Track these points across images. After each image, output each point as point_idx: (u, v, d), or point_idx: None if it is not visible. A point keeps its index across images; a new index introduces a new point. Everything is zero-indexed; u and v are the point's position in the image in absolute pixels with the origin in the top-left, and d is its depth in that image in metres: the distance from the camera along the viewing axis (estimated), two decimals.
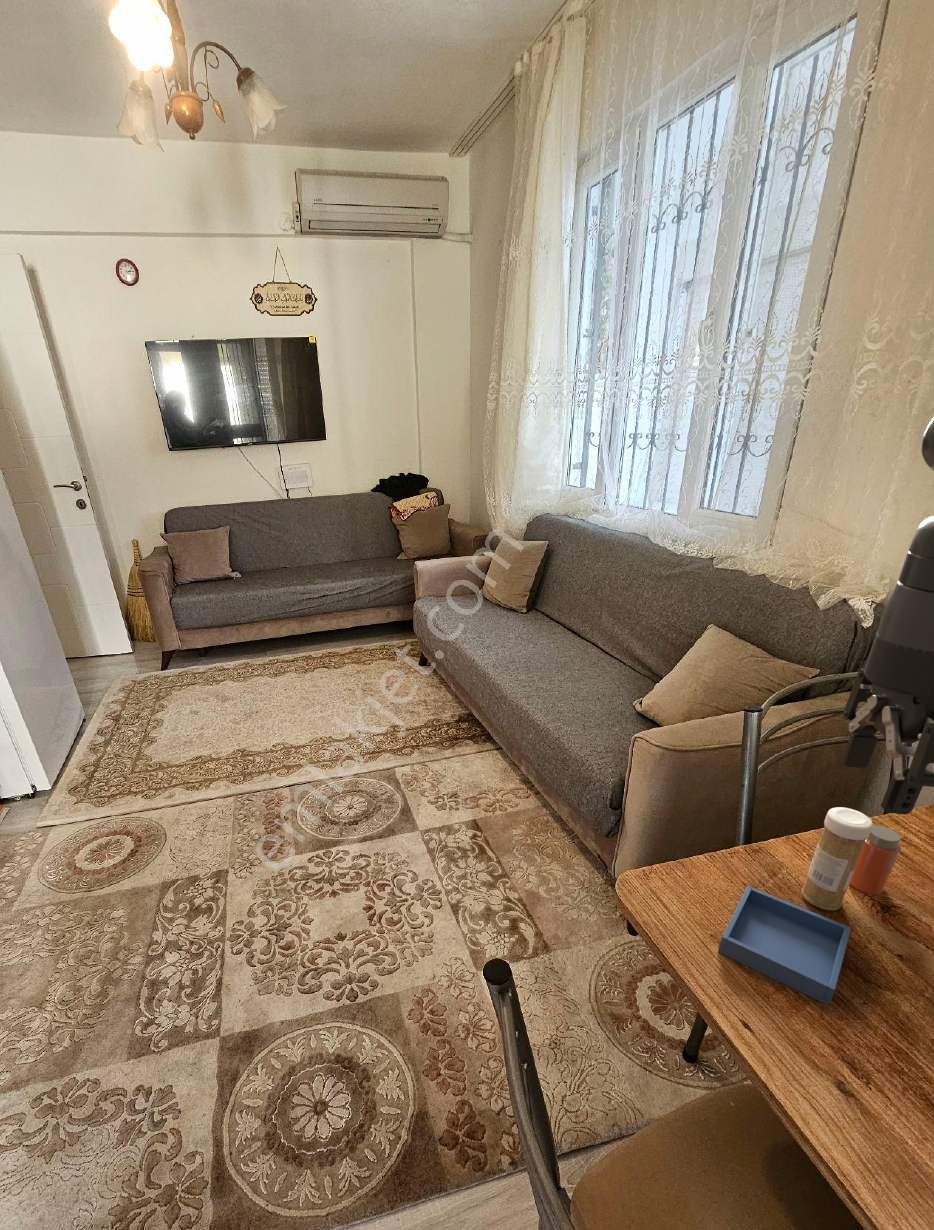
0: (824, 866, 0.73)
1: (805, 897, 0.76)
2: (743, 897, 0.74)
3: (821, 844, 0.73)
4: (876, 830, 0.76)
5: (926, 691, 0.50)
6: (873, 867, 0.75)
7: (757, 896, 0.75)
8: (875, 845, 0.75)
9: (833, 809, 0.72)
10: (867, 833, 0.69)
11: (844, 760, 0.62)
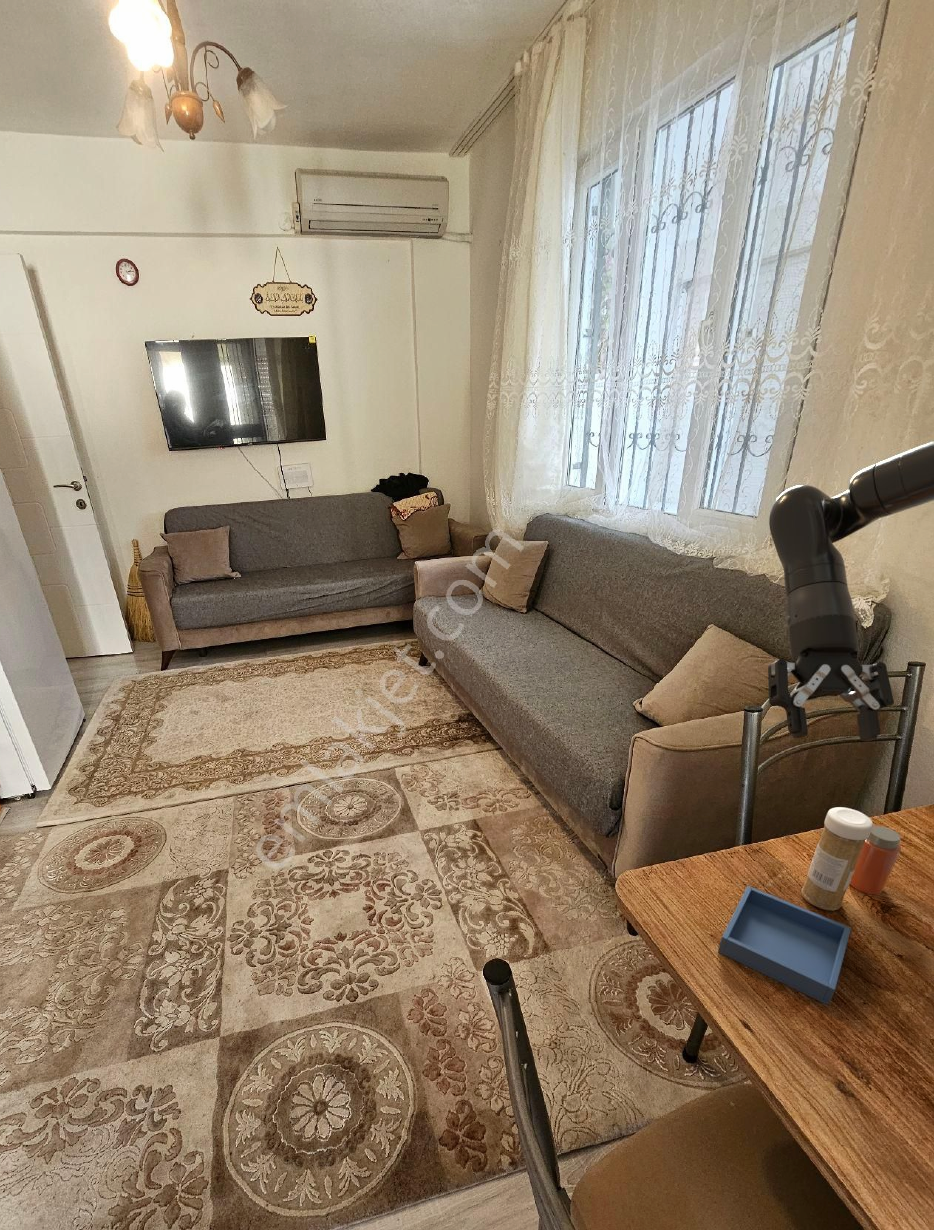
0: (824, 866, 0.73)
1: (805, 897, 0.76)
2: (743, 897, 0.74)
3: (821, 844, 0.73)
4: (876, 830, 0.76)
5: (791, 651, 0.80)
6: (873, 867, 0.75)
7: (757, 896, 0.75)
8: (875, 845, 0.75)
9: (833, 809, 0.72)
10: (867, 833, 0.69)
11: None
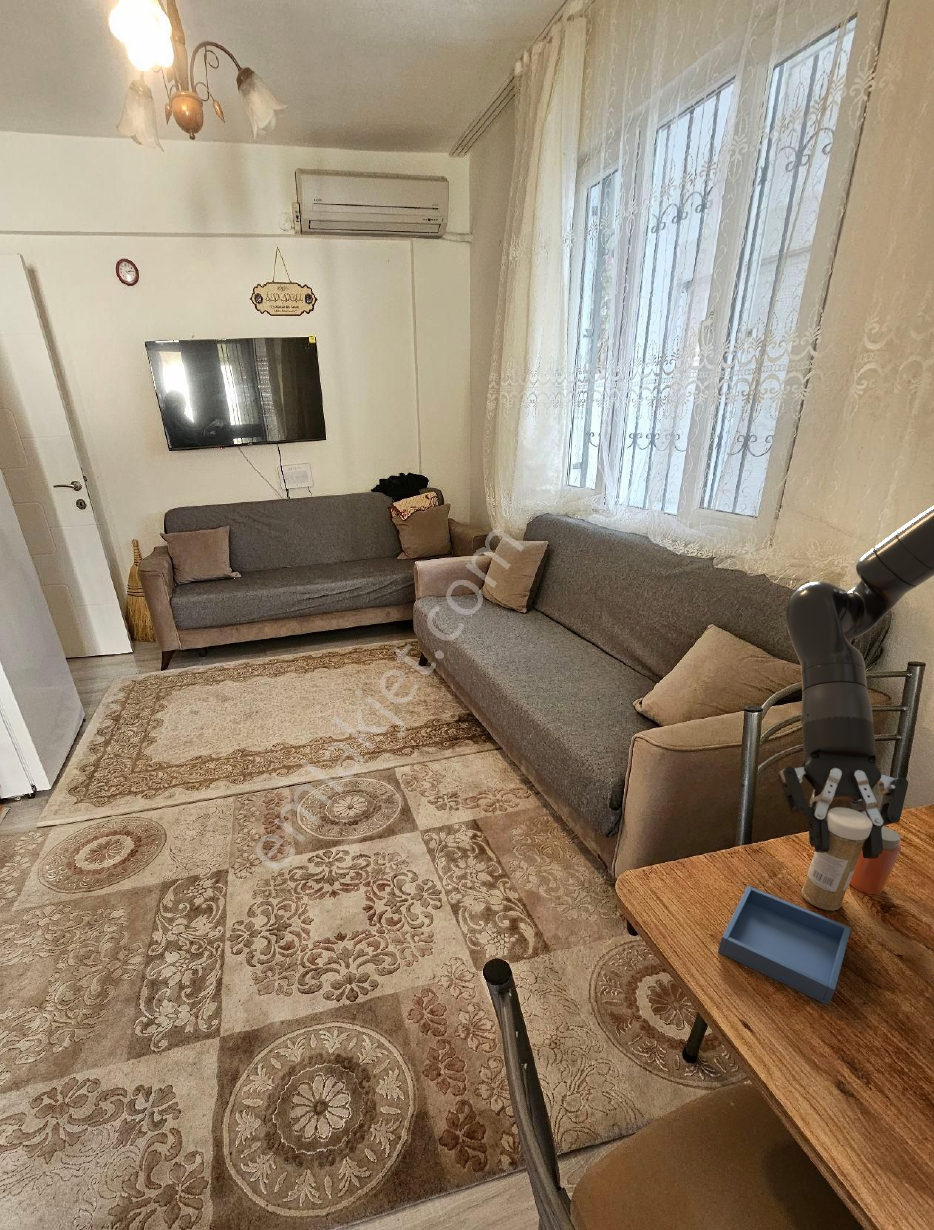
0: (824, 866, 0.73)
1: (805, 897, 0.76)
2: (743, 897, 0.74)
3: None
4: None
5: (803, 750, 0.77)
6: (873, 867, 0.75)
7: (757, 896, 0.75)
8: None
9: (833, 809, 0.72)
10: (867, 833, 0.69)
11: None
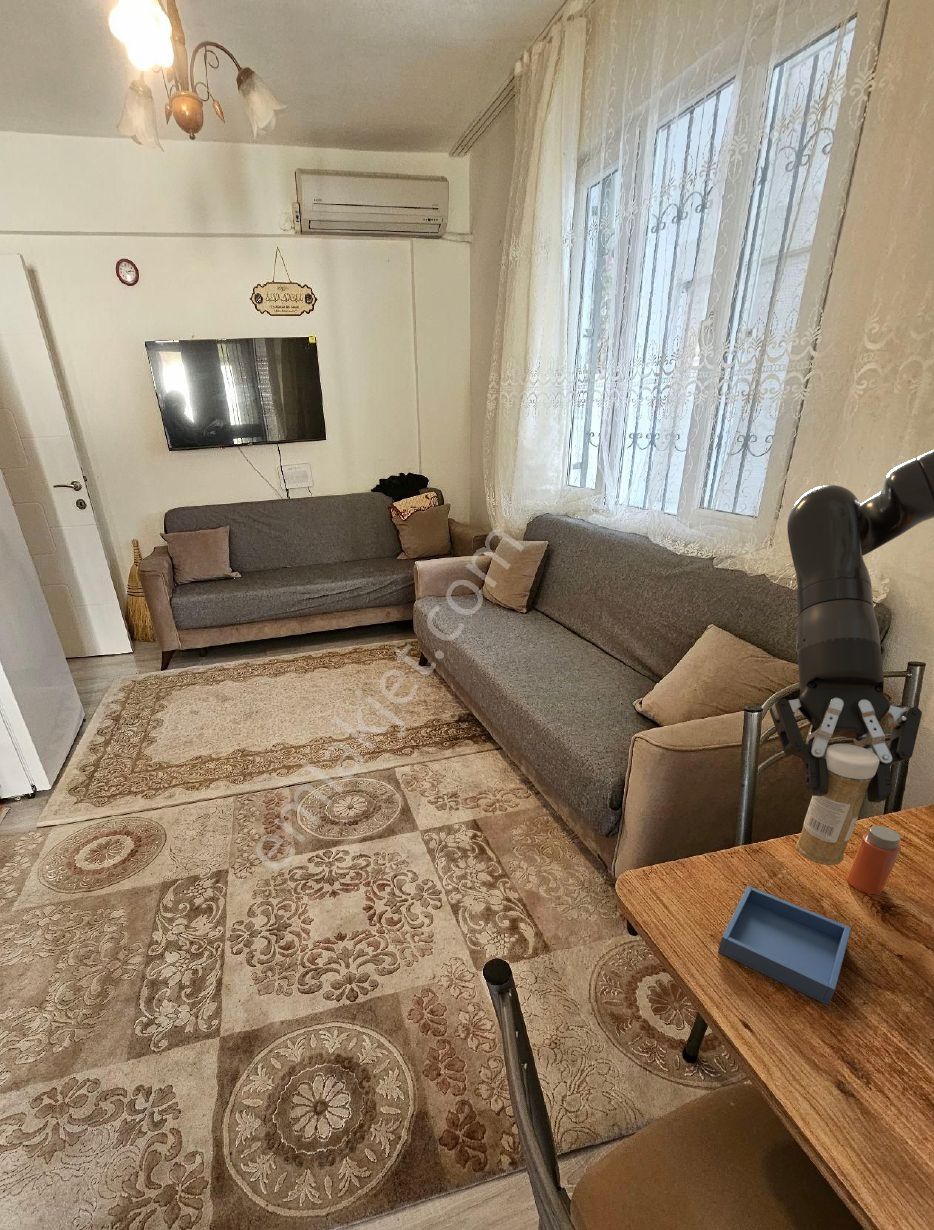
0: (823, 813, 0.62)
1: (800, 851, 0.66)
2: (743, 897, 0.74)
3: None
4: (876, 830, 0.76)
5: (799, 681, 0.66)
6: (873, 867, 0.75)
7: (757, 896, 0.75)
8: (875, 845, 0.75)
9: (833, 745, 0.62)
10: (873, 770, 0.59)
11: None
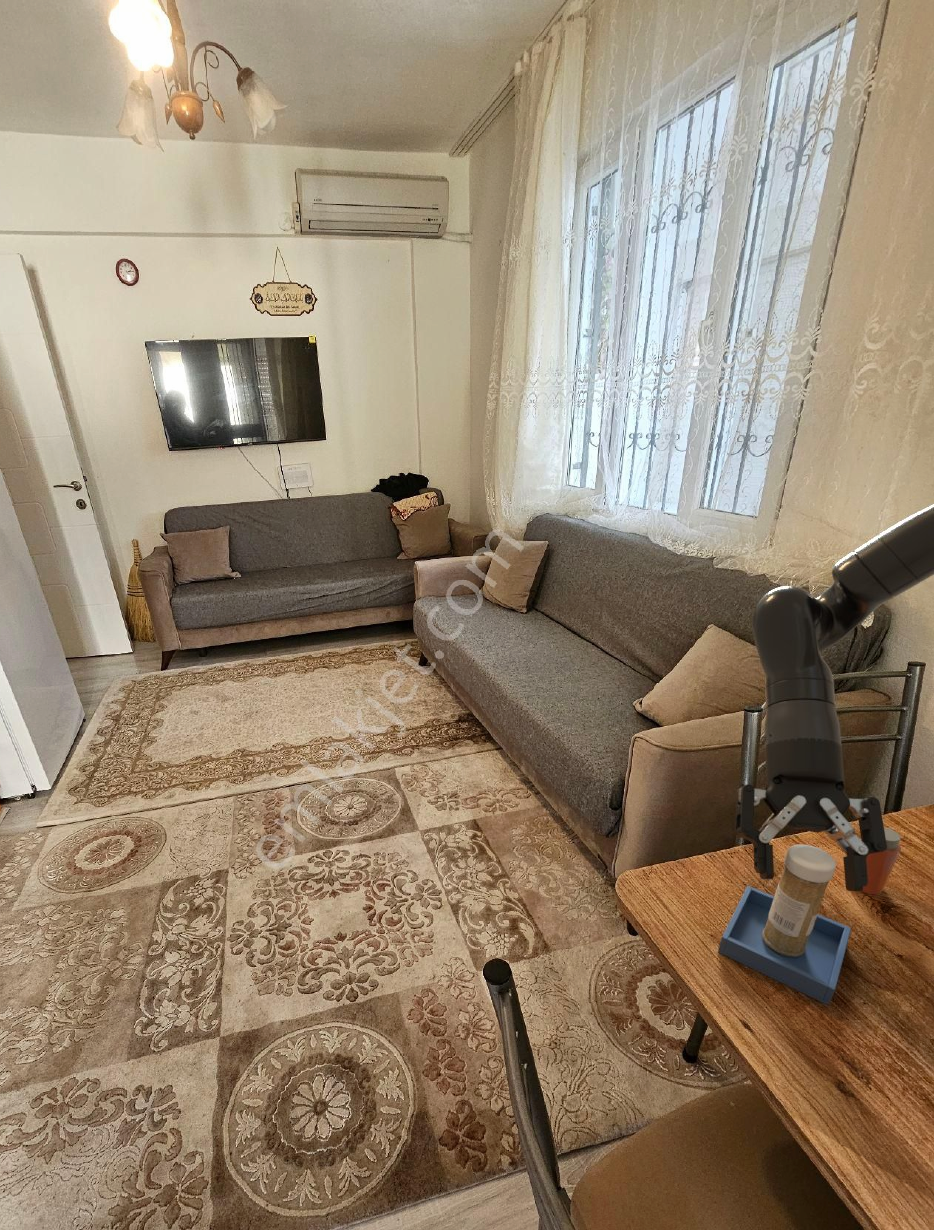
0: (785, 910, 0.66)
1: (766, 941, 0.70)
2: (743, 897, 0.74)
3: (781, 885, 0.66)
4: None
5: (766, 775, 0.69)
6: (873, 867, 0.75)
7: (757, 896, 0.75)
8: None
9: (794, 847, 0.66)
10: (830, 875, 0.62)
11: None
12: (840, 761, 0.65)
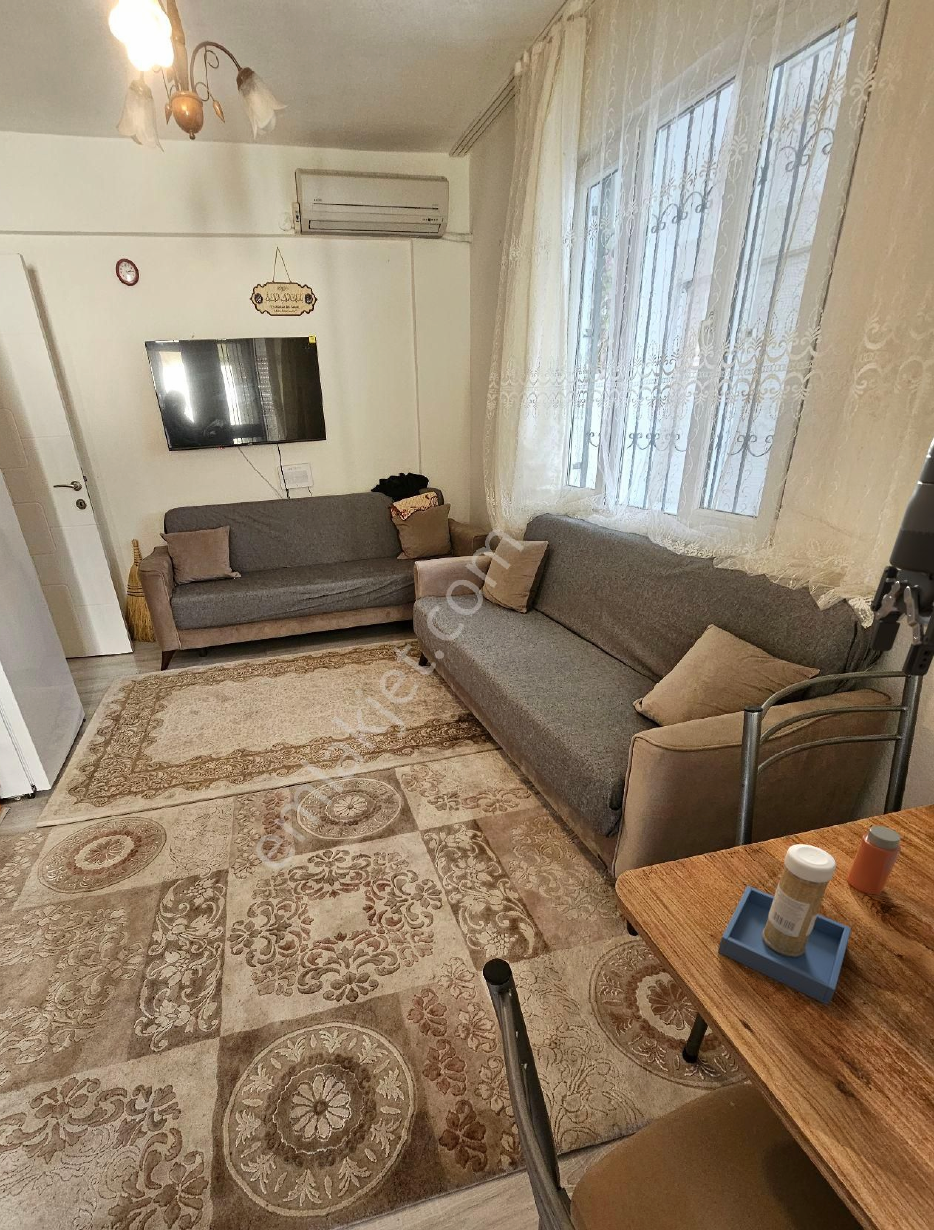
0: (785, 910, 0.66)
1: (766, 941, 0.70)
2: (743, 897, 0.74)
3: (781, 885, 0.66)
4: (876, 830, 0.76)
5: None
6: (873, 867, 0.75)
7: (757, 896, 0.75)
8: (875, 845, 0.75)
9: (794, 847, 0.66)
10: (830, 875, 0.62)
11: (871, 645, 0.75)
12: None
